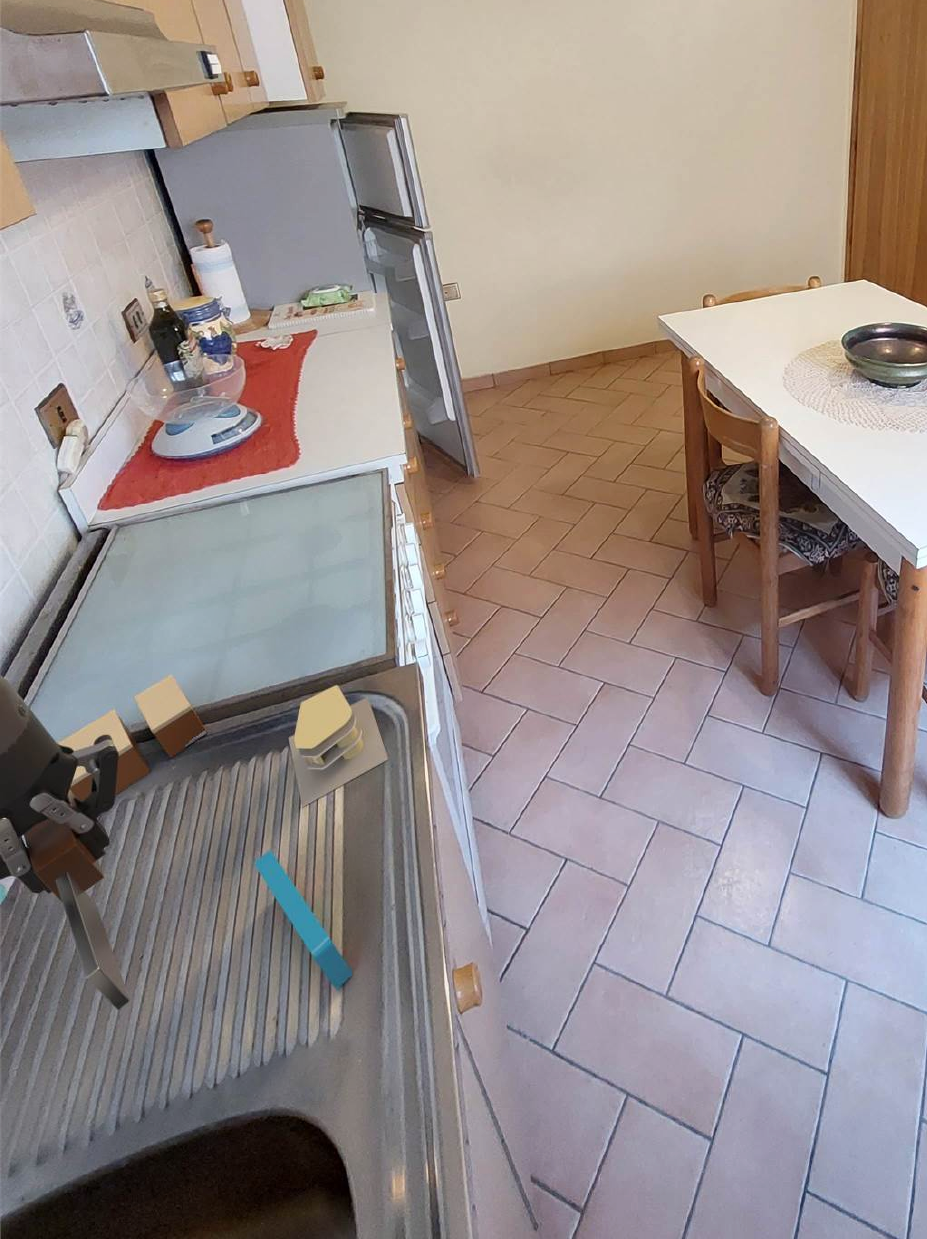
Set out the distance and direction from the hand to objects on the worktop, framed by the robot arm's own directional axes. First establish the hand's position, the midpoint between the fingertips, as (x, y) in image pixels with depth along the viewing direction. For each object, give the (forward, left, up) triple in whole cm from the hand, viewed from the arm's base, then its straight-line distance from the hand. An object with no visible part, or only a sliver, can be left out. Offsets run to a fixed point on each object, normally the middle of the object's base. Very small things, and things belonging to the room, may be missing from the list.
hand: (75, 866), depth 62 cm
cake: (+3, +20, -10) cm, 22 cm away
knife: (0, -5, 0) cm, 5 cm away
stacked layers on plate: (+21, +2, -10) cm, 24 cm away
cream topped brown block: (+10, +20, -10) cm, 24 cm away
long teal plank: (+11, -15, -10) cm, 21 cm away
